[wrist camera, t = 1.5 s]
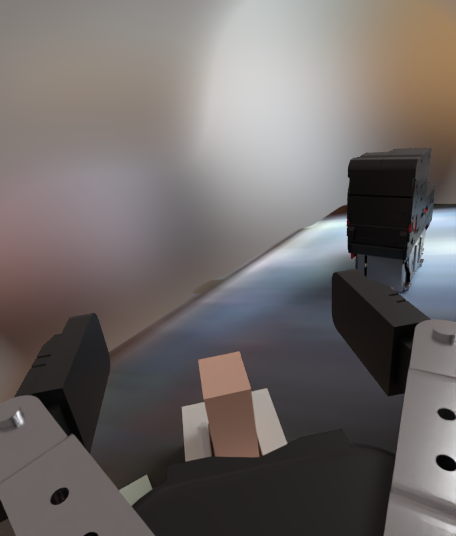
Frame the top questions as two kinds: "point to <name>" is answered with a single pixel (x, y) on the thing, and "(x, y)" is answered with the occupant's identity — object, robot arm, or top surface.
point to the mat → (136, 490)
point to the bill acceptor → (389, 213)
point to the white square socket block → (200, 435)
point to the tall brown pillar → (229, 406)
